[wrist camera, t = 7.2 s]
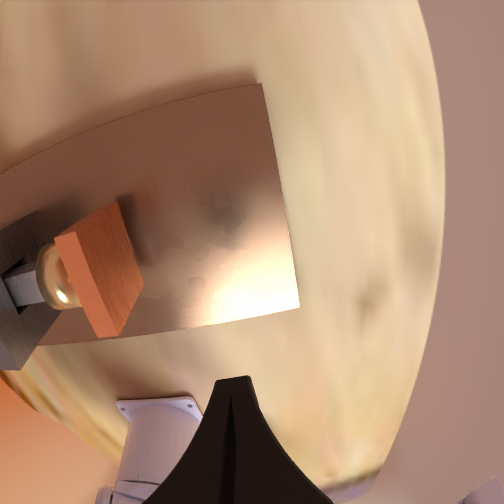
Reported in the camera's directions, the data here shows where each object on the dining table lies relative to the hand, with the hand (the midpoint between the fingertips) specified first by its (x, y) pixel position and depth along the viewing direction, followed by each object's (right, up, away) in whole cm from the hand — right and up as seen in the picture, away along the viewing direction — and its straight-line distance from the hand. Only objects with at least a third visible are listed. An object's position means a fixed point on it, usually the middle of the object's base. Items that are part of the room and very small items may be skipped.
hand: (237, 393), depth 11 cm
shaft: (-16, +4, +5) cm, 17 cm away
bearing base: (-11, +6, +7) cm, 15 cm away
